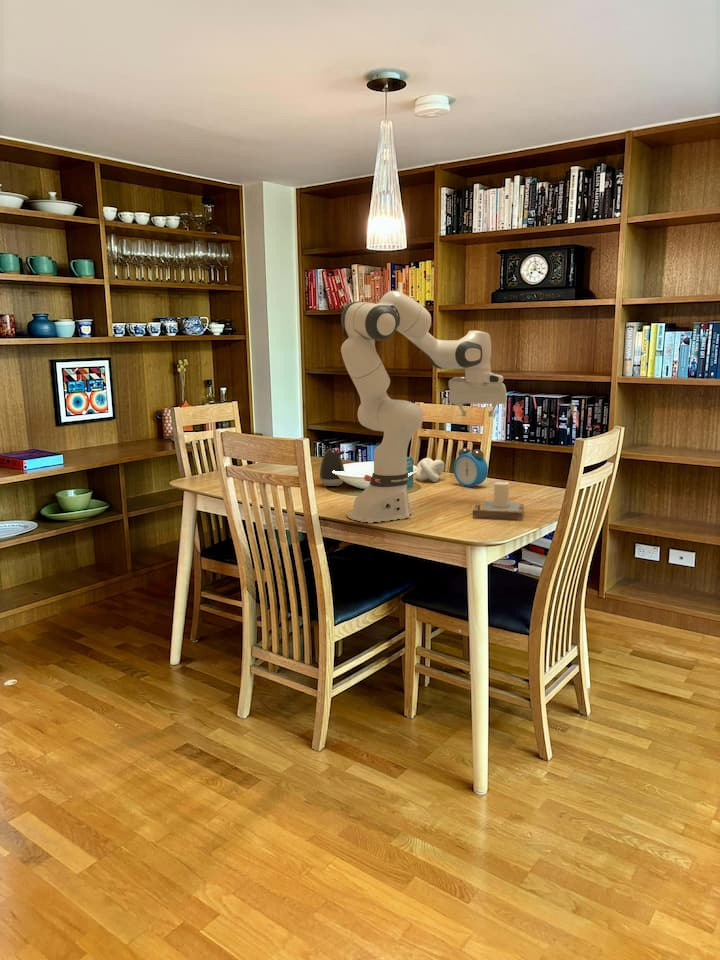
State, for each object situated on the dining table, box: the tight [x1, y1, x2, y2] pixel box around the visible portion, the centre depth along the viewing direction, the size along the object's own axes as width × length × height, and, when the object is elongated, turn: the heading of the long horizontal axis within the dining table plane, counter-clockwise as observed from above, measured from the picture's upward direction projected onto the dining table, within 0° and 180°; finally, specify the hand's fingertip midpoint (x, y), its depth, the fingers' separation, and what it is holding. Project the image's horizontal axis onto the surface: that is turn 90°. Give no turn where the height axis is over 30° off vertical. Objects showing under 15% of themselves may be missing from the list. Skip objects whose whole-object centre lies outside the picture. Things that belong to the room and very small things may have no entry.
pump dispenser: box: [319, 448, 345, 487], centre depth 298 cm, size 10×10×15 cm
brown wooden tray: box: [472, 502, 525, 522], centre depth 242 cm, size 12×15×4 cm
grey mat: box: [481, 500, 521, 512], centre depth 254 cm, size 12×12×2 cm
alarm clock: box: [452, 447, 489, 488], centre depth 293 cm, size 13×6×15 cm, turn 44°
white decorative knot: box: [415, 457, 445, 483], centre depth 304 cm, size 11×12×9 cm
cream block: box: [493, 481, 510, 508], centre depth 253 cm, size 4×4×8 cm
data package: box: [407, 456, 414, 489], centre depth 291 cm, size 12×4×12 cm, turn 147°
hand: (477, 416), depth 263 cm, fingers open, 8 cm apart
